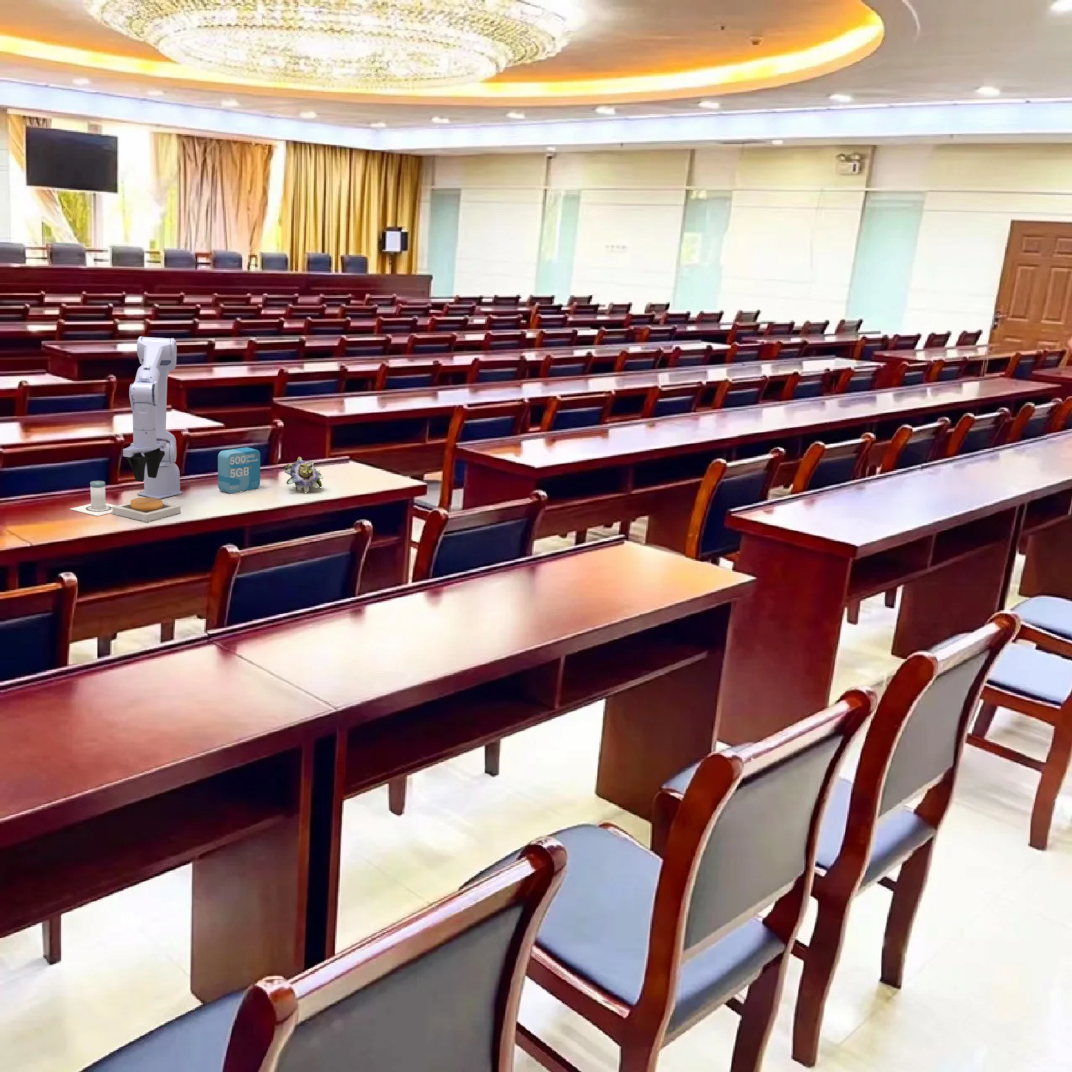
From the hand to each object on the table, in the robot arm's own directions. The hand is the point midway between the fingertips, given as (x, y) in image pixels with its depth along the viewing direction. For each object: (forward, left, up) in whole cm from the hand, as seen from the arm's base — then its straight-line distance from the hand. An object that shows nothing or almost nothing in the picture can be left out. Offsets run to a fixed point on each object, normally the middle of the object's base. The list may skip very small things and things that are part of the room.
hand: (145, 479), depth 273 cm
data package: (-36, 0, -10) cm, 37 cm away
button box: (0, 0, -9) cm, 9 cm away
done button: (0, 0, -8) cm, 8 cm away
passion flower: (-49, +13, -10) cm, 52 cm away
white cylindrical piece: (+5, -12, -9) cm, 16 cm away
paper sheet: (+5, -12, -9) cm, 16 cm away
